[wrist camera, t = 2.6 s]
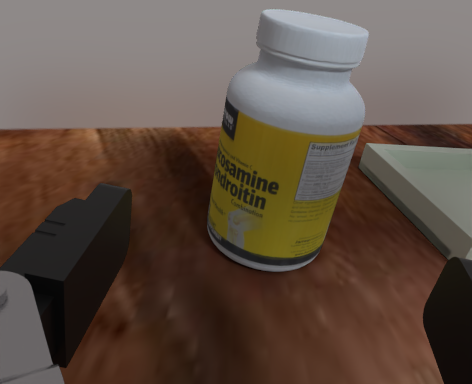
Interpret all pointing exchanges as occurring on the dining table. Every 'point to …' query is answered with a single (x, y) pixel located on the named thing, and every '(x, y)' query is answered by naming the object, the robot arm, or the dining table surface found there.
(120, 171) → the dining table surface
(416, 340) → the dining table surface
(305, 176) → the pill bottle
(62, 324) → the robot arm
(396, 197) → the dish
